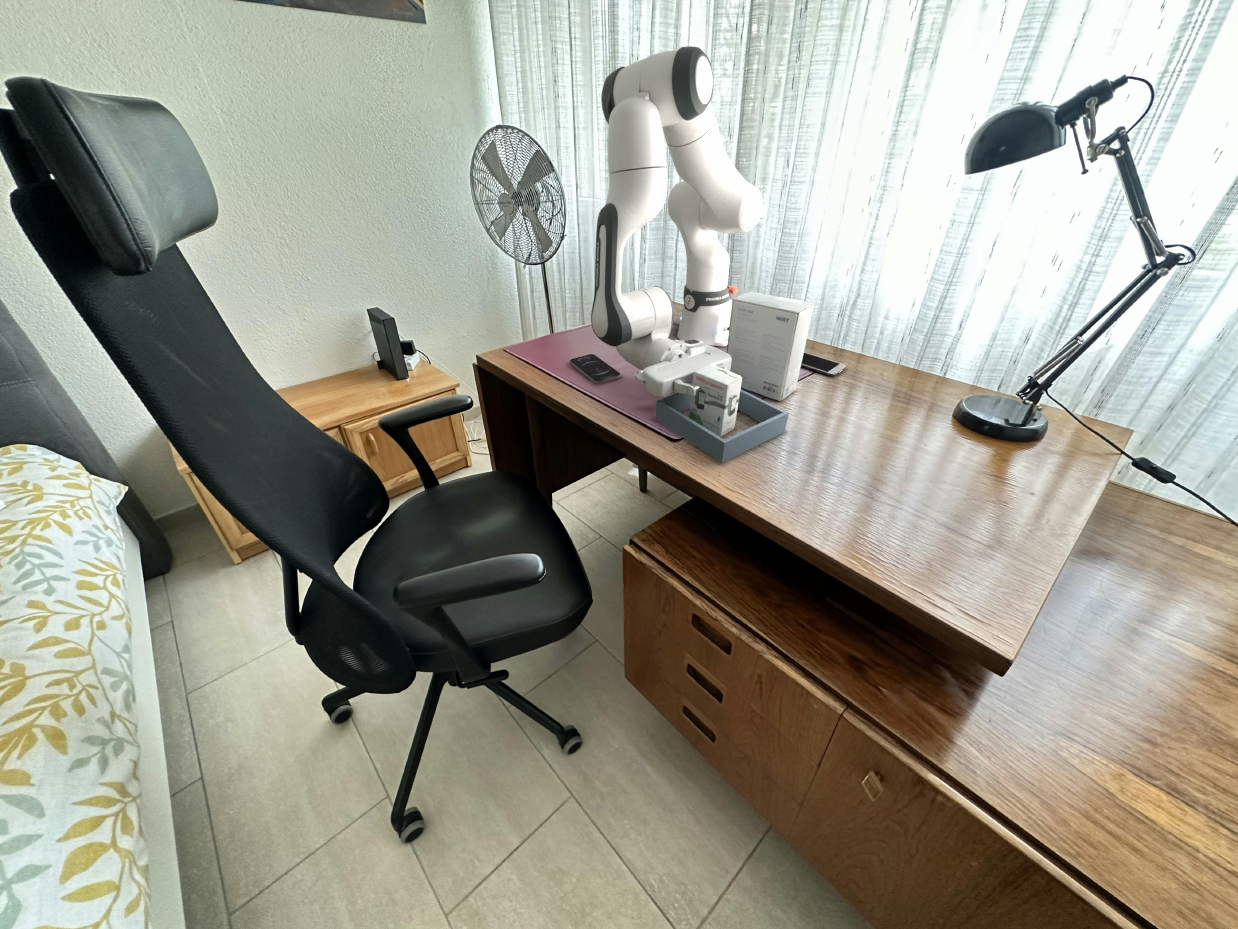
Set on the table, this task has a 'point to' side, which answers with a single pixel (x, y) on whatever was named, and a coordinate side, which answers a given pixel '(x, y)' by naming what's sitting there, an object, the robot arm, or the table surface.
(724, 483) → the table surface
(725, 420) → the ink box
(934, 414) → the table surface
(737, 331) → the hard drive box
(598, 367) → the smartphone
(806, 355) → the smartphone
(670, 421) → the tub
